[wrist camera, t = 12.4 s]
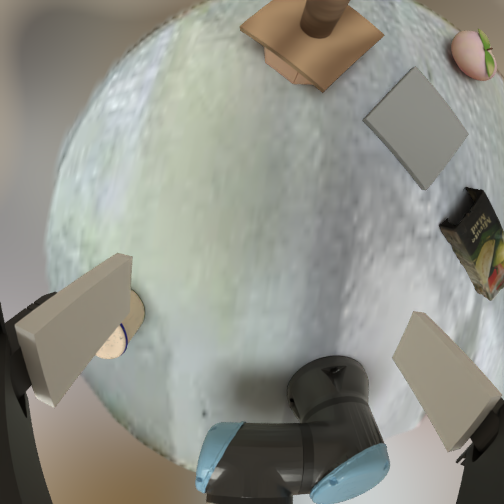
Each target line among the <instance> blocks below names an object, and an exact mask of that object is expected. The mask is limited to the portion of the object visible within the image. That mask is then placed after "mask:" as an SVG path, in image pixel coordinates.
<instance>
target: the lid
mask: <svg viewBox="0 0 504 504" xmlns="http://www.w3.org/2000/svg"><path fill="white" fill-rule="evenodd" d="M349 1H350V0H272V1H271V2H270V3H268V4H267V5H266V6H264V7H263V8H262V9H260V10H259V11H258V12H257V13H255V14H254V15H253V16H252V17H250V18H249V19H248V20H247V21H245V22H244V23H243V24H242V25H241V26H240V31H242V32H243V33H245V34H247V35H248V36H250V37H251V38H253V39H254V40H255V41H257V42H258V43H260V44H261V45H263V46H264V47H266V48H267V49H268V50H270V51H271V52H272V53H274V54H275V55H277V56H278V57H279V58H281V59H282V60H283V61H284V62H286V63H287V64H288V65H290V66H291V67H292V68H293V69H295V70H296V71H297V72H298V73H300V74H301V75H302V76H303V77H305V78H306V79H307V80H308V81H309V82H311V83H312V84H313V85H314V86H315V87H316V88H318V89H319V90H320V91H321V92H322V93H323V92H324V91H325V90H326V89H327V88H328V87H329V86H330V85H331V84H332V83H333V82H334V81H335V80H336V79H338V78H339V77H340V76H341V75H342V74H343V73H344V72H345V71H346V70H347V69H348V68H349V67H350V66H351V65H352V64H353V63H355V62H356V61H357V60H358V59H359V58H360V57H361V56H362V55H363V54H364V53H366V52H367V51H368V50H369V49H370V48H371V47H372V46H373V45H374V44H376V43H377V42H378V41H379V40H380V39H381V38H382V37H383V36H384V34H383V33H382V32H381V31H379V30H378V29H377V28H376V27H375V26H374V25H373V24H371V23H370V22H369V21H368V20H367V19H365V18H364V17H363V16H362V15H360V14H359V13H358V12H357V11H355V10H354V9H353V8H351V7H350V6H349V5H348V3H349Z"/></svg>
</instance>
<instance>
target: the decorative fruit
mask: <svg viewBox="0 0 504 504" xmlns="http://www.w3.org/2000/svg"><path fill="white" fill-rule="evenodd" d="M478 31H479V33H477V32H474V31H461V32H459V33H458V34H457V35H456V36H455V37H454V39H453V41H452V45H451V50H452V55H453V57H454V60H455V62H456V63H457V65H458V67H459V68H460V69H461V70H462V71H463V72H464V73H465V74H466V75H468V76H469V77H471V78H473V79H476V80H480V81H486V80H489V79H491V78H492V77H493V76H494V75H495V73H496V69H497V64H496V61H495V58H494V56H493V55H492V53H491V52H492V48H491V46H490V43H489V40H488V38H487V36H486V35H485V34H484V33H483V32H482V31H481V30H480V29H478Z"/></svg>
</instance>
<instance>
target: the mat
mask: <svg viewBox="0 0 504 504" xmlns="http://www.w3.org/2000/svg"><path fill="white" fill-rule="evenodd" d="M362 121H363V122H364V123H365V124H366V125H367V126H368V127H369V128H370V129H371V130H372V131H373V132H374V133H375V134H376V135H377V136H378V137H379V139H380V140H381V141H382V142H383V143H384V144H385V145H386V146H387V147H388V149H389V150H390V151H391V152H392V153H393V154H394V156H395V157H396V158H397V159H398V160H399V162H400V163H401V164H402V165H403V166H404V168H405V169H406V170H407V171H408V173H409V174H410V175H411V176H412V178H413V179H414V180H415V181H416V183H417V184H418V185H419V187H420V188H421V189H422V190H427V189H428V188H429V187H430V185H431V184H432V183H433V182H434V180H435V179H436V178H437V176H438V175H439V174H440V173H441V171H442V170H443V169H444V167H445V166H446V165H447V163H448V162H449V161H450V159H451V158H452V157H453V155H454V154H455V153H456V151H457V150H458V149H459V147H460V146H461V144H462V143H463V142H464V140H465V139H466V137H467V136H468V132H467V131H466V129H465V128H464V126H463V125H462V123H461V122H460V121H459V119H458V118H457V116H456V115H455V114H454V112H453V111H452V109H451V108H450V107H449V105H448V104H447V103H446V102H445V100H444V99H443V98H442V96H441V95H440V94H439V93H438V91H437V90H436V89H435V88H434V87H433V85H432V84H431V83H430V82H429V81H428V79H427V78H426V77H425V76H424V75H423V74H422V73H421V71H420V70H419V69H418V68H417V67H416V66H415V67H414V68H412V69H411V70H410V71H409V72H408V73H407V74H406V75H405V76H404V77H403V78H402V79H401V80H400V81H399V82H398V83H397V84H396V85H395V86H394V87H393V88H392V89H391V91H390V92H389V93H388V94H387V95H386V96H385V97H384V98H383V99H382V100H381V101H380V102H379V103H378V104H377V105H376V106H375V107H374V108H373V109H372V111H371V112H370V113H369V114H368V115H367V116H366V117H365V118H364V119H363V120H362Z"/></svg>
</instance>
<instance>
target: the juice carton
mask: <svg viewBox="0 0 504 504" xmlns="http://www.w3.org/2000/svg"><path fill="white" fill-rule="evenodd" d="M464 189H465V188H464ZM466 189H467V191H468V192H469V194H470V196H471V198H472V199H473V201H474V205H473V206H472V208H471V209H470V210H471V211H472V212H470V213H466V214H465V216H464V218H463V219H462V221H461V222H460V223H458V224H456V225H452V224H451V223H450V222H449V220H448V218H447V219H446V220H445V221H444V222H443V223H442V224H440V228H441V231H442V233H443V234H444V235H445V237H446V238H447V241H448V242H450V243H451V245H452V248H453V251H454V252H455V254H456V255H457V258H458V259H459V260H460V263H461V264H462V265H463V266H464V268H465V269H466V271H467V273H468V275H469V277H470V279H471V282H472V283H473V285H474V286H475V290H476V291H477V293H479V294H482V295H484V297H486V298H487V299H488V300H490V301H492V300H493V299H494V298H495V297H496V296H497V294H498V293H499V291H500V290H501V289H503V287H504V231H503V229H502V227H501V224H500V221H499V219H498V217H497V216H496V214H495V211H494V209H493V207H492V205H491V203H490V201H489V199H488V197H487V195H486V194H485V192H484V191H483V190H478V189H473V188H468V187H466Z"/></svg>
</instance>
